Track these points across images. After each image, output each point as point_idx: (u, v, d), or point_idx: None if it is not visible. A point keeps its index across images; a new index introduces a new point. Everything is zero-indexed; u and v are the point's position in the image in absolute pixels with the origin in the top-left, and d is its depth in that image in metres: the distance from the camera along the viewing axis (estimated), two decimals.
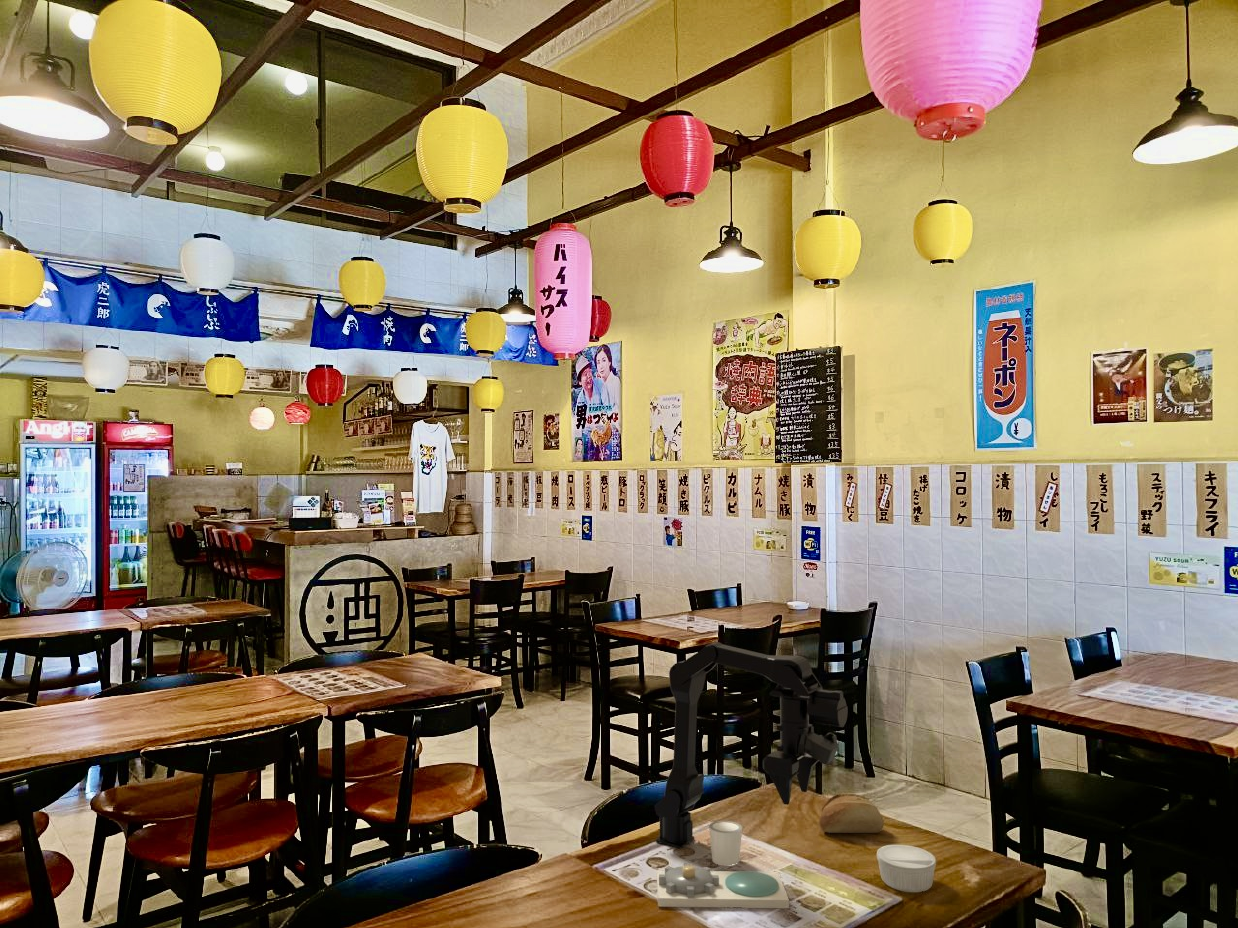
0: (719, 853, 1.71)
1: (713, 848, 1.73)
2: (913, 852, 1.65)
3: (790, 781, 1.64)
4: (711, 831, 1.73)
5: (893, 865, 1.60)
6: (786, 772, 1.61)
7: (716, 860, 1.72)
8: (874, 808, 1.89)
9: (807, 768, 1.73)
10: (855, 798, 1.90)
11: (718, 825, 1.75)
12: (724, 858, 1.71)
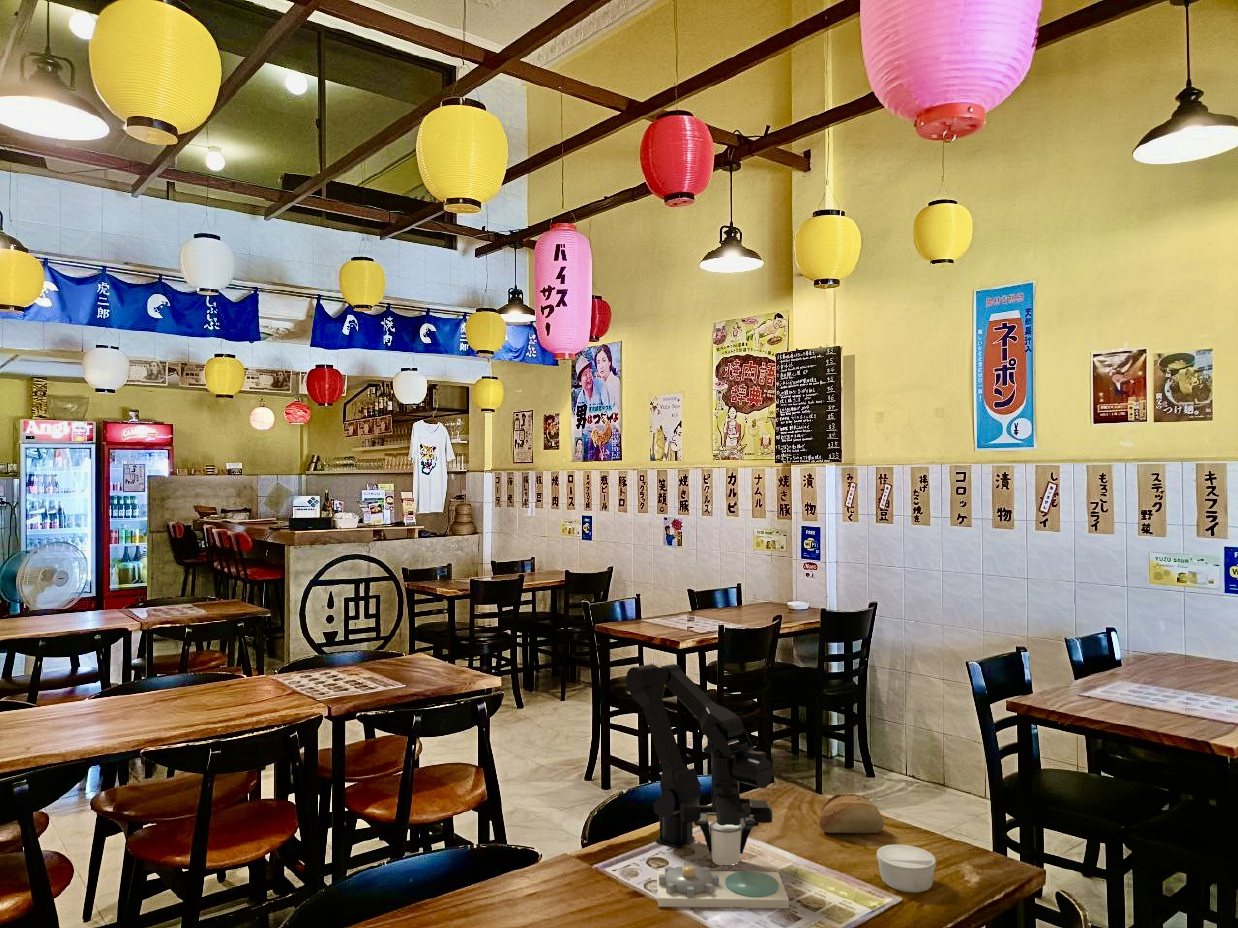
0: (719, 853, 1.71)
1: (713, 848, 1.73)
2: (913, 852, 1.65)
3: (704, 830, 1.73)
4: (711, 831, 1.73)
5: (893, 865, 1.60)
6: (681, 818, 1.72)
7: (716, 860, 1.72)
8: (874, 808, 1.89)
9: (742, 830, 1.73)
10: (855, 798, 1.90)
11: (718, 825, 1.75)
12: (724, 857, 1.71)
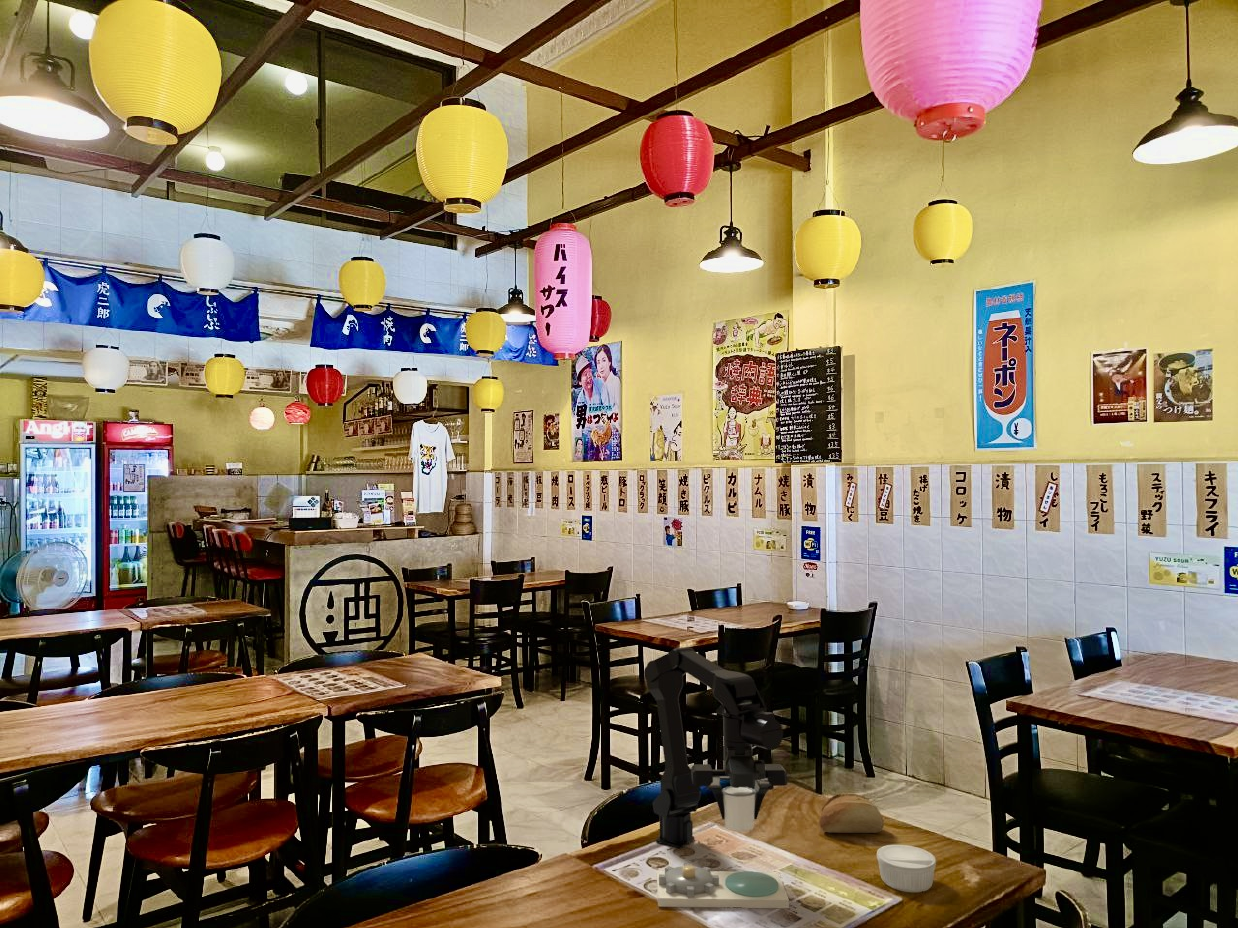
0: (732, 818, 1.65)
1: (726, 813, 1.66)
2: (913, 852, 1.65)
3: (717, 795, 1.66)
4: (724, 795, 1.66)
5: (893, 865, 1.60)
6: (692, 782, 1.66)
7: (729, 825, 1.65)
8: (874, 808, 1.89)
9: (756, 795, 1.67)
10: (855, 798, 1.90)
11: (731, 790, 1.68)
12: (737, 823, 1.64)
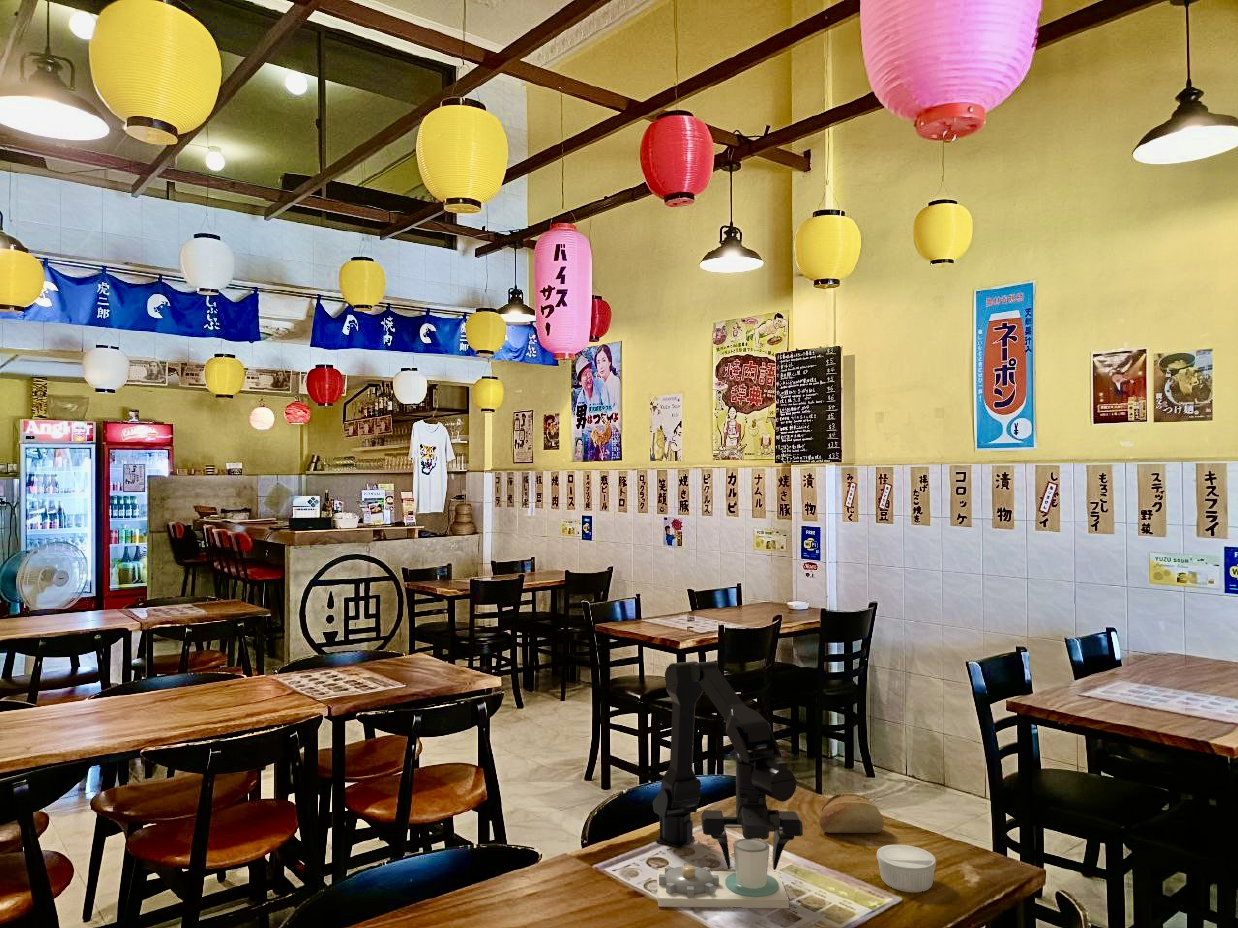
0: (744, 874, 1.57)
1: (738, 868, 1.58)
2: (913, 852, 1.65)
3: (722, 844, 1.58)
4: (735, 850, 1.58)
5: (893, 865, 1.60)
6: (703, 830, 1.58)
7: (741, 882, 1.57)
8: (874, 808, 1.88)
9: (776, 844, 1.59)
10: (855, 798, 1.90)
11: (743, 843, 1.60)
12: (749, 879, 1.56)
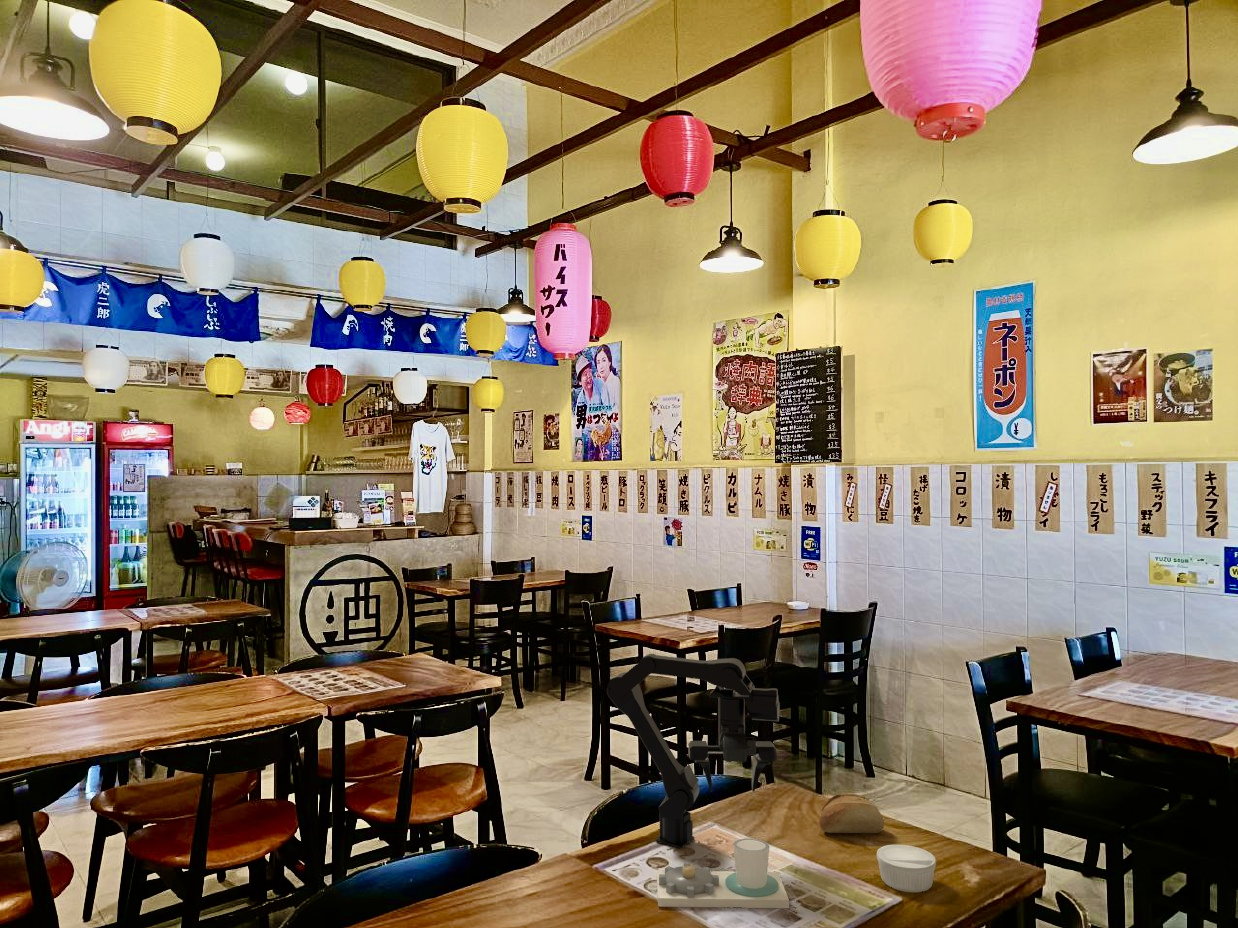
0: (744, 874, 1.57)
1: (738, 868, 1.58)
2: (913, 852, 1.65)
3: (705, 769, 1.80)
4: (735, 850, 1.58)
5: (893, 865, 1.60)
6: (689, 757, 1.80)
7: (741, 882, 1.57)
8: (874, 808, 1.88)
9: (754, 769, 1.81)
10: (855, 798, 1.90)
11: (743, 843, 1.60)
12: (749, 879, 1.56)
